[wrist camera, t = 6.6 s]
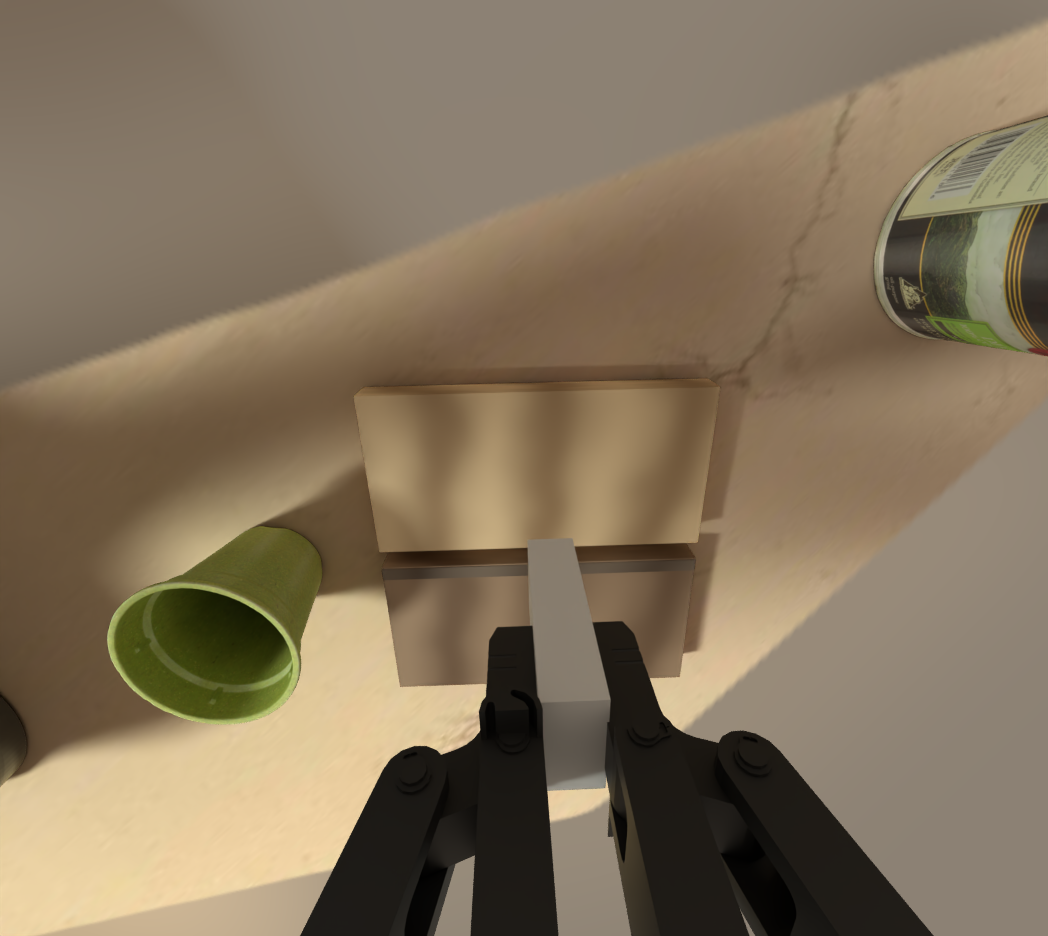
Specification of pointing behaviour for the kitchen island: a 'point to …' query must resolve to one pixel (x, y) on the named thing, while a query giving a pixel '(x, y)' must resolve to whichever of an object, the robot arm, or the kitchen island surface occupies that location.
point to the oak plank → (537, 462)
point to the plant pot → (221, 630)
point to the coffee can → (972, 243)
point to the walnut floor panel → (503, 601)
